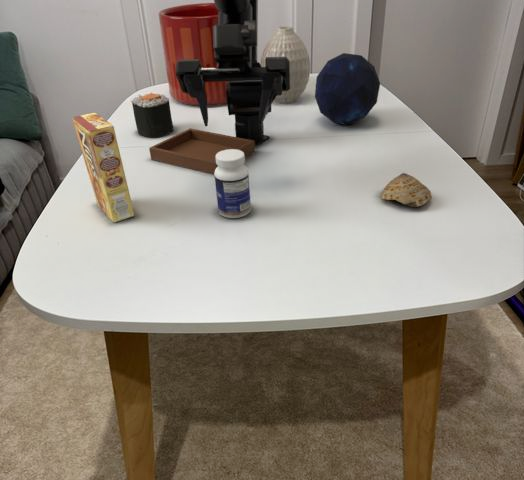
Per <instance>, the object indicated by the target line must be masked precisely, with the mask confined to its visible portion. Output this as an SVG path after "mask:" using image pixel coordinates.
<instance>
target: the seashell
mask: <svg viewBox="0 0 524 480" xmlns="http://www.w3.org/2000/svg"><path fill="white" fill-rule="evenodd" d="M432 196H433V195H432V192H431V190H430V189H429V188H428V186H427V185H425V184H424V183H422V182H421V180H419V179H417V178H416V177H415V176H413V175H410V174H408V173H405V172H402V173H400V174H399V175H397V176H395V177H394V178H393V179H391V180H390V181H389V182H388V183H387V184H386V185H385V186H384V187H383V189H382V191H381V193H380V198H381V199H382V200H387V201H397V202H399V203H401V204H402V205H404V206H408V207H412V208H416V207H417V208H418V207H421V206H423V205H425V204H427V203H428V202H429V201H431V199H432Z"/></svg>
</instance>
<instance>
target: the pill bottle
mask: <svg viewBox="0 0 524 480" xmlns="http://www.w3.org/2000/svg"><path fill="white" fill-rule="evenodd" d="M245 162H246V158H245V156H244V152H243V151H241V150H237V149H228V150H223V151H220V152H218V153H217V154H216V164H217V165H218V167H217V168H216V169H215V172H214V174H213V175H214V185H215V192H216V202H217V212H218V213H219V215H220V216H222V217H224V218H227V219H239V218H243V217H245V216H247V215H249V213H250V212H251V210H252V203H251V191H250V190H251V188H250V173H249V172H250V171H249V168H248V167H247V166H246V165H245Z"/></svg>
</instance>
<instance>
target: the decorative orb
mask: <svg viewBox="0 0 524 480" xmlns="http://www.w3.org/2000/svg"><path fill="white" fill-rule="evenodd" d="M380 87H381V82H380V78H379V76H378V74H377V70H376V68H375V66H374V65H373V63H371V62H370V61H369V60H367V59H366V58H365V57H364V56H363V55H360V54H354V53H346V52H344V53H341V54H338V55H337V56H334V57H333V58H331V59H329V60H327V62H326V63H325V64H324V66H323V67H322V69H321V70H320V71H319V73H318V74H317V76H316V81H315V89H314V98H315V101H316V104H317V108H318V110H319V113H320V114H321V115H322V116H324V117H325V118H327V119H328V120H330V121H331V122H332V123H334V124H339V125H346V126H351V125H353V124H355V123H358V122H359V121H361V120H363V119H365V118H366V117H367V115H368V114H369V113H370V112H371V110H372V109H373V108H374V107H375V105H377V103H378V97H379V92H380Z"/></svg>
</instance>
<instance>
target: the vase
mask: <svg viewBox="0 0 524 480" xmlns="http://www.w3.org/2000/svg"><path fill="white" fill-rule="evenodd" d="M303 41H304V40H303V39H301V38H300V36H299V35H298V34H297V33H296V32H295V30H294V27H292V26H290V25H281V26H278V27H277V28H276V30H275V32H274V33H273V35H272V36H271V37H270V38H269V39H268V41H267V42H266V44H265V46H264V48H263V51H262V54H261V59H260V65H261V67H265V58H266V57H287V58H288V59H289V61H290V90H288V91H282V95H280V96H276V98H275V99H274V101H273V103H277V104H292V103H295V102H297V101H298V100H299V98H300V97H301V96H302V95H303V94H304V91H305V90H306V88H307V85H308V83H309V79H310V75H311V74H310V73H311V61H310V56H309V51H308V49H307V47H306V45H305V44H304V42H303Z"/></svg>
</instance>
